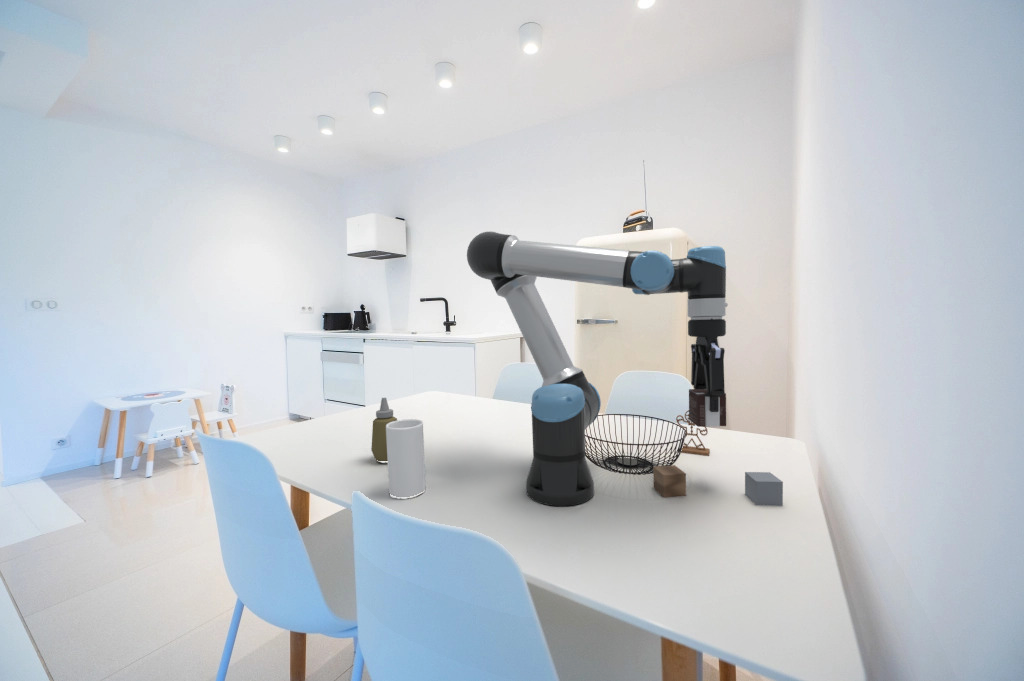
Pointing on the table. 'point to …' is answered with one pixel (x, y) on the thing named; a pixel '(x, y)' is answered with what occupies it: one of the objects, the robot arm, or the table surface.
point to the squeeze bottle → (381, 431)
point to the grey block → (764, 488)
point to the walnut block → (669, 481)
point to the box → (703, 407)
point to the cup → (405, 457)
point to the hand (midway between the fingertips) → (706, 421)
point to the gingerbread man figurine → (689, 449)
